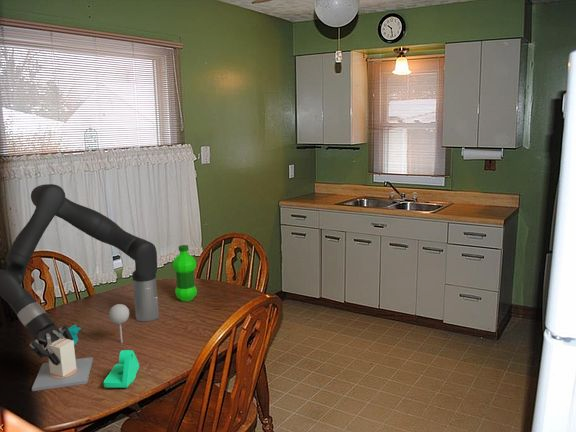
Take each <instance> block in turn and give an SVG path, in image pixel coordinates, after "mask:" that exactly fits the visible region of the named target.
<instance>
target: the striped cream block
mask: <svg viewBox="0 0 576 432" xmlns="http://www.w3.org/2000/svg"><path fill="white" fill-rule="evenodd" d="M50 348H51V349H52V350H53V353H55V355H56V356H57V357H58V359H59V360H60V363H59V365H57V366H56V365H54V364H53V363H52V362H51V360H50V359H49V358H48V363H49V367H50V373H52V374H55V375H59V376H65V375H67V374H68V373H70V372H71V371H73V370H75V369H76V359H77V358H76V354H75V353H76V350H75V345H74V341H73V340H69V339H65V338H64V339H59V340H57V341H55V342H53V343H52V345H50Z"/></svg>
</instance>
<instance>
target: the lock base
mask: <svg viewBox="0 0 576 432" xmlns="http://www.w3.org/2000/svg"><path fill="white" fill-rule="evenodd" d="M93 358H94V357H91V356H90V357H83V358H75V359H76V369H75V370H73V371H71V372H70V373H68V374H67V375H65V376H59V375H55V374H52V373H50V367H49V362H44V363H43V362H42V365H41V366H40V368H39V371H38V373H37V374H36V375H37V376H36V378H35V379H34V382H33V384H32V387H31V391H32V392H36V391H43V390H50V389H57V388H59V389H60V388H66V387H73V386H81V385H86V384H88V383H89V382H88V381H89V377H90V373H91V369H92V365H93V361H94V359H93Z"/></svg>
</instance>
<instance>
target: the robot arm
mask: <svg viewBox="0 0 576 432" xmlns="http://www.w3.org/2000/svg"><path fill="white" fill-rule="evenodd" d="M30 200H31V202H32V204H33V205H34V206H35V209H34V211H33V214H32V215H31V217H30V219H29V220H28V222H27V223H26V224H25V225H24V227H23V228H22V229H21V230H20V232H19V233H18V234H17V236H16V238H15V239H14V241H13V243H12V244H11V247H10V249H9V250H8V253H7V255H6V258H5V260H6V262H7V264H6V267H5V269H0V297H1V298H2V299H3V300H4V301H5V302H6V303H7V304H8V305H9V307H10V308H11V309H12V311H13V312H14V314H15V315H16V316H17V317H18V320H19V321H20V323H21V324H22V325H23V326H24V328H25V329H26V330H27V332H28V333H29V334H30V336H31V337H32V338H33V339H34V340H32V341H31V342H30V344H29V345H28V347H29V348H30V350H31V351H33V352H34V353H35V355H37V356H38V357H39V358H41V359H44V358H48V360H49V359H50V360H51V362H52V363H53V364H54V365H56V366H57V365H59V363H60V360H59V359H58V357H57V356H56V355H55V353H53V350H52V349H51V348H50V345H52V343H53V342H55V341H57V340H59V339H64V338H65V339H69V340H73V337H72V335H71V334H70V332H69V330H68V328H69V327H68V326H67V325H65V324H64V325H63V326H61V327H57V326H56V325H55V322H54V321H53V319H52V318H51V317H50V315H49V314H48V313H47V312H46V310H45V309H44V308H43V307H42V305H40V304H39V302H38V301H37V300H36V299H35V297H34V296H33V295H32V294H31V293H30V292H29V291H28V290H26V289H25V288H24V287H23V286H22V284H23V281H24V279H25V275H26V271H27V267H28V264H29V262H30V260H31V258H32V257H33V254H34V252H35V250H36V248H37V246H38V245H39V243H40V240H41V239H42V237H43V235H44V234H45V231H46V230H47V228H48V227H49V225H50V223H51V222H52V221H53V219H54V218H55V217H57V218H60V219H62V220H64V221H65V222H67V223H68V224H70V226H71V225H72V226H73V227H75V228H76V229H77V230H79V231H81V232H82V233H84V234H86V235H87V236H90V238H91V237H92V238H93V239H95V240H97V241H99V242H102V243H104V244H107V245H110V246H113V247H114V248H116V249H117V250H119V251H121V252H122V253H123V254H125V255H126V256H128V257H129V258H130V259H132V260H133V261H134V263H135V265H134V266H135V267H134V268H135V269H134V271H132V273H131V274H132V276H131V277H132V286H133V287H132V288H133V289H132V290H133V300H134V310H135V311H134V313H135V314H134V315H135V320H136V321H137V322H138V321H139V322H152V321H155V320H158V319H160V315H159V314H160V313H159V312H160V311H159V298H158V288H157V271H158V253H157V252H158V251H157V247H156V246H155V244H154V243H152V242H150V241H149V240H146V239H144V238H141V237H138V236H136V235H134V234H132V233H130V232H127V231H126V230H124V229H123V228H122V227H121V226H119V225H118V224H117V223H116V222H115V221H113V220H112V219H110V217H107V216H106V215H104V214H102V213H101V212H99V211H97V210H95V209H93V208H91V207H90V208H89V207H87V206H84V205H81V204H78V203H76V202H74V201H72V200H70V199H68V198H67V197H66V193H65V190H64V189H63V187H61V186H60V185H58V184H54V183H52V184H51V183H50V184H49V183H47V184H45V183H44V184H40V185H38V186H35V187H34V188H33V189H32V190H31V193H30ZM61 334H62V335H63V336H62V335H61ZM75 355H76V352H75Z"/></svg>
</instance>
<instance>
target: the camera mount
mask: <svg viewBox="0 0 576 432" xmlns="http://www.w3.org/2000/svg"><path fill="white" fill-rule="evenodd" d="M118 357H119V358H118V360H119V361H118V362H119V363H116V364H115V365H114V366H113V367H112V369H111V370H110V372H109V374H108V375H107V376H106V378H105V379H104V381H103V387H104V388H128V387H129V386H130V384H131V385H132V384H133V382H134V380H135V379H136V378H137V372H138V371H139V369H140V363H139V361H138V358H137V356H136V353H135V352H134V350H132V349H127V350H126V349H125V350H124V349H123V350H122V349H121V351H120V352H119V356H118Z"/></svg>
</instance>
